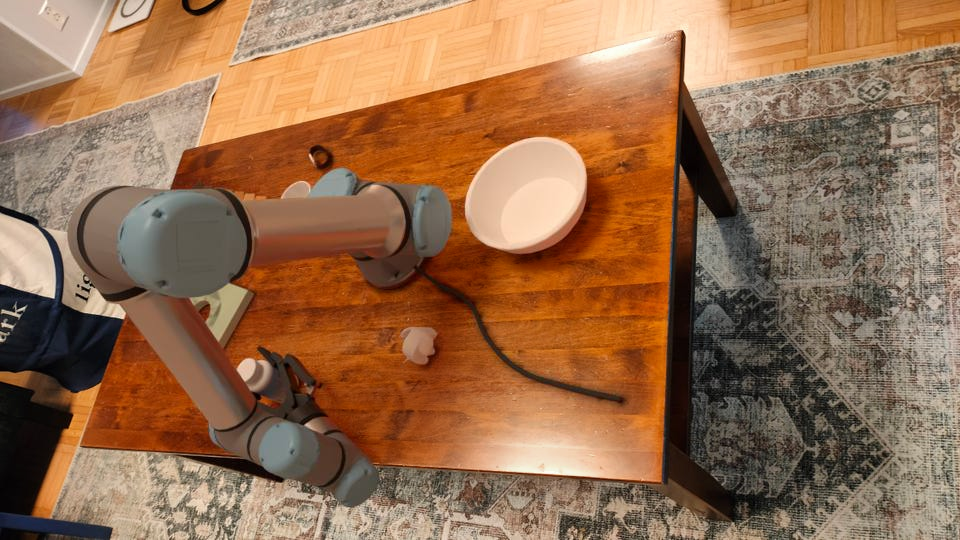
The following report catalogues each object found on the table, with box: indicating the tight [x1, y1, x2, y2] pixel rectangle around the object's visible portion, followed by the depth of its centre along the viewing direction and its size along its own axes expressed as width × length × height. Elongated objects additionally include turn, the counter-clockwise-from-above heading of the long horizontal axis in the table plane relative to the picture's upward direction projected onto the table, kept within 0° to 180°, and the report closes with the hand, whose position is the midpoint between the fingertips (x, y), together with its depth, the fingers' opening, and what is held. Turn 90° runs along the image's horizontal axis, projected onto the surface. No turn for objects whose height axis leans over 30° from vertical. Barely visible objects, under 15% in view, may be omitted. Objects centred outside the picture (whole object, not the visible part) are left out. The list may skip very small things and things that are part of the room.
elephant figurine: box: [399, 326, 439, 365], centre depth 114 cm, size 7×8×6 cm
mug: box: [280, 180, 314, 199], centre depth 139 cm, size 12×8×12 cm
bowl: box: [464, 136, 588, 255], centre depth 115 cm, size 22×22×8 cm
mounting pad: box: [189, 282, 255, 350], centre depth 146 cm, size 18×18×2 cm
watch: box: [308, 144, 332, 171], centre depth 153 cm, size 8×5×4 cm, turn 28°
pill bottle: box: [236, 357, 300, 404], centre depth 123 cm, size 6×6×11 cm
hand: (251, 364), depth 125 cm, fingers closed on pill bottle, 6 cm apart
